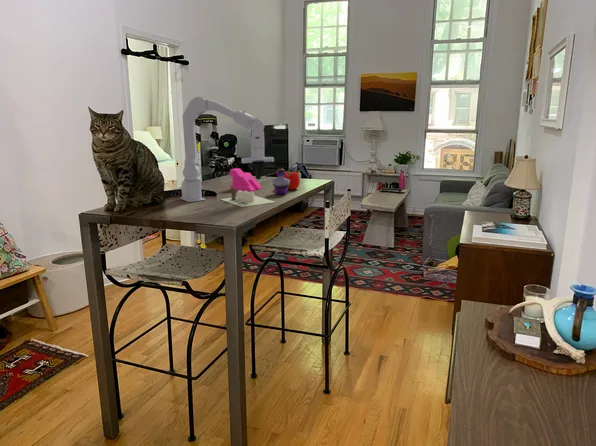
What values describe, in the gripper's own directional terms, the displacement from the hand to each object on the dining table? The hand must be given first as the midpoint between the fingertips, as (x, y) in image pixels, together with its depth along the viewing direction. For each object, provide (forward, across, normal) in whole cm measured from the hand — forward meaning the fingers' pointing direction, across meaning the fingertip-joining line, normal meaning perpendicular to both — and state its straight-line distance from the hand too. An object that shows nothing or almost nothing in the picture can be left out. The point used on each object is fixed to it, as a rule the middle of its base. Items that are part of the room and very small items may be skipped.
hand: (258, 178), depth 197 cm
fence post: (+9, +10, -4) cm, 14 cm away
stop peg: (+9, +11, +5) cm, 15 cm away
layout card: (+10, +5, 0) cm, 11 cm away
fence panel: (+9, +6, +1) cm, 11 cm away
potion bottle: (+10, -15, -9) cm, 20 cm away
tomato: (+10, -25, -19) cm, 33 cm away
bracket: (+10, -6, -28) cm, 30 cm away
